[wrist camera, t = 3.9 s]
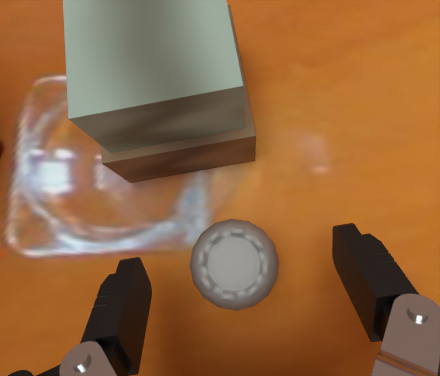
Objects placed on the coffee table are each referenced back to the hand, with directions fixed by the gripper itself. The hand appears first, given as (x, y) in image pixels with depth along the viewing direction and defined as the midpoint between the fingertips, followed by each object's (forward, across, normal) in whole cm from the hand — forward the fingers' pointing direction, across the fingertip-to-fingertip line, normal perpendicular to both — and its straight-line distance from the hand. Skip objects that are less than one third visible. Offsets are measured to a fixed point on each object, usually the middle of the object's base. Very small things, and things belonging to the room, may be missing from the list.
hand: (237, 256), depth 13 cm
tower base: (+11, +2, -3) cm, 11 cm away
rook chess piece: (+4, 0, +4) cm, 6 cm away
